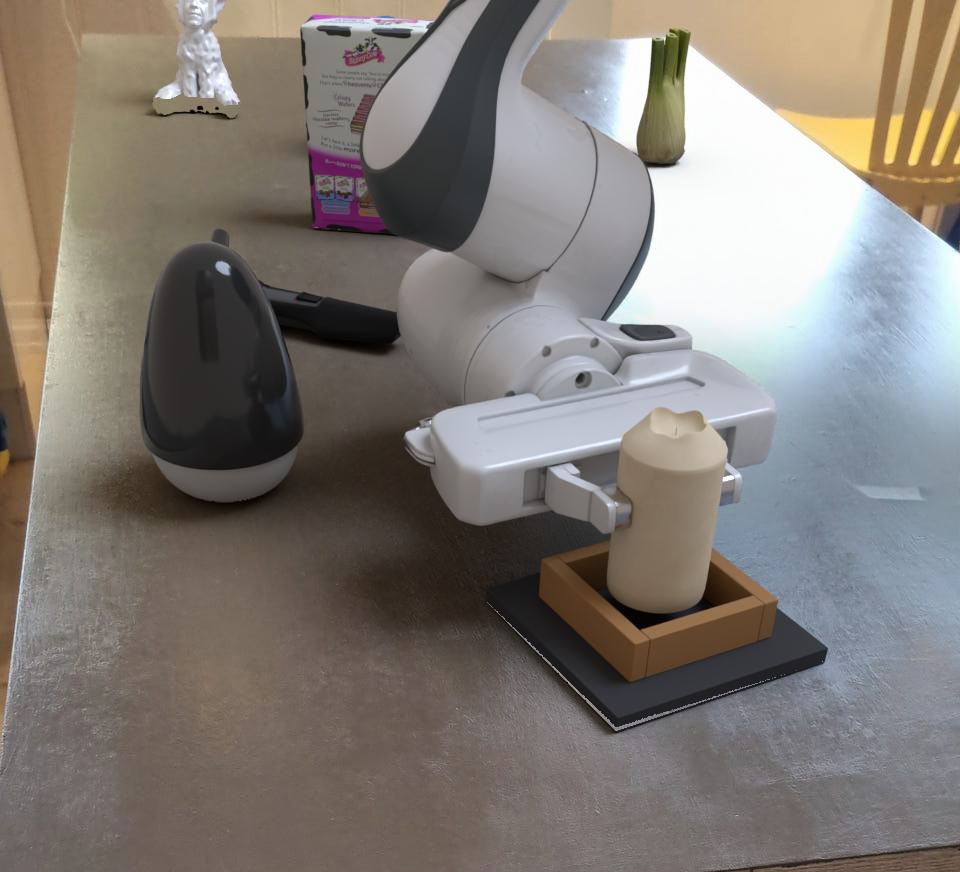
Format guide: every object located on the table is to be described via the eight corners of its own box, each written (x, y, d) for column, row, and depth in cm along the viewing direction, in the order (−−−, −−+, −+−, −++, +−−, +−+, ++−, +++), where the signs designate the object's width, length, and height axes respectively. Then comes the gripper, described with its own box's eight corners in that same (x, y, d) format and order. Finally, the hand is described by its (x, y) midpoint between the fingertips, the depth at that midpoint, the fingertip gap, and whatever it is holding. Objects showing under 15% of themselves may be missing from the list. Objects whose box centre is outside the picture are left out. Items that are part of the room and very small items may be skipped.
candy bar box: (439, 220, 127) (440, 18, 116) (430, 238, 124) (431, 32, 113) (322, 211, 128) (311, 10, 117) (309, 229, 125) (298, 23, 114)
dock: (680, 546, 85) (687, 495, 83) (825, 662, 76) (838, 609, 74) (484, 601, 80) (486, 549, 78) (615, 733, 71) (622, 678, 69)
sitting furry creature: (151, 116, 149) (135, -12, 141) (167, 94, 155) (153, -29, 147) (238, 120, 149) (227, -8, 141) (251, 98, 155) (241, -26, 147)
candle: (585, 581, 77) (601, 412, 70) (656, 551, 79) (678, 385, 72) (653, 626, 74) (677, 453, 67) (725, 593, 76) (755, 424, 69)
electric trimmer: (395, 363, 104) (395, 322, 102) (220, 323, 109) (216, 282, 106) (417, 346, 107) (417, 305, 105) (245, 307, 111) (242, 267, 109)
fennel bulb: (643, 171, 140) (657, 37, 132) (622, 156, 143) (634, 25, 135) (693, 165, 141) (710, 33, 133) (671, 151, 145) (686, 21, 136)
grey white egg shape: (317, 449, 93) (303, 216, 83) (296, 525, 86) (278, 279, 75) (168, 443, 94) (136, 209, 83) (134, 519, 86) (94, 272, 76)
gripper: (390, 376, 75) (502, 489, 66) (703, 320, 82) (843, 416, 73) (392, 481, 80) (498, 600, 71) (689, 419, 87) (820, 521, 78)
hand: (676, 506), depth 72 cm, fingers closed on candle, 5 cm apart
